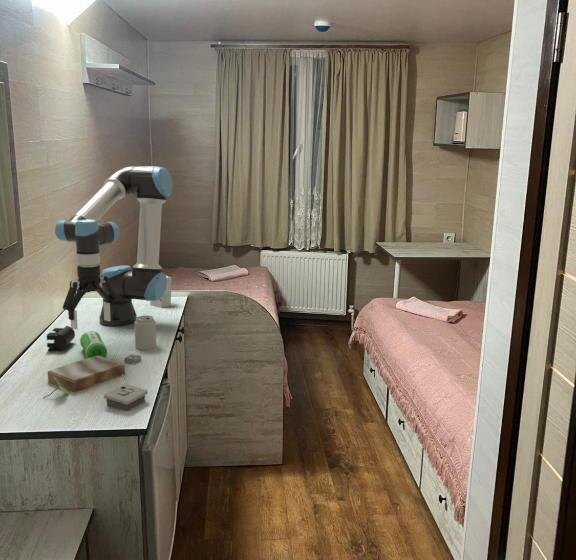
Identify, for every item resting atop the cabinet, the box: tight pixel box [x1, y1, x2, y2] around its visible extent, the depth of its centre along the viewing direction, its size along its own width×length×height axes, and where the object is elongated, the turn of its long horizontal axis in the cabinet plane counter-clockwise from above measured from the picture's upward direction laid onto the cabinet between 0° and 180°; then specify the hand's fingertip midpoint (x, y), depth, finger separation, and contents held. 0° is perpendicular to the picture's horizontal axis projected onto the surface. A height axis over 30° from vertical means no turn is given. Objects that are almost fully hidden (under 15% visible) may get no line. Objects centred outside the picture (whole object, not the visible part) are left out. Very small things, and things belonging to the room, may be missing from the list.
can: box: [133, 315, 157, 351], centre depth 228 cm, size 8×8×12 cm
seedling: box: [42, 377, 70, 399], centre depth 186 cm, size 7×8×7 cm
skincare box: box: [149, 275, 172, 309], centre depth 282 cm, size 8×6×15 cm
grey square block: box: [124, 353, 142, 365], centre depth 215 cm, size 4×4×2 cm
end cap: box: [46, 325, 76, 352], centre depth 229 cm, size 10×7×7 cm
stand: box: [47, 355, 126, 394], centre depth 200 cm, size 19×14×4 cm
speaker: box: [79, 330, 108, 359], centre depth 220 cm, size 18×7×8 cm, turn 25°
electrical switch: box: [103, 383, 149, 412], centre depth 181 cm, size 9×5×9 cm
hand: (91, 324), depth 218 cm, fingers open, 13 cm apart
